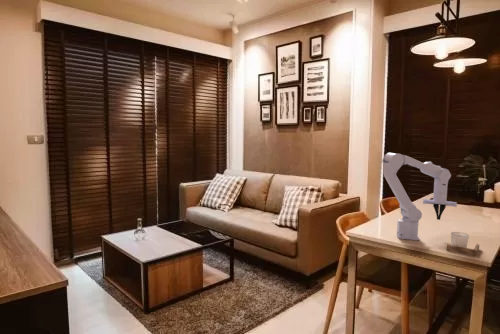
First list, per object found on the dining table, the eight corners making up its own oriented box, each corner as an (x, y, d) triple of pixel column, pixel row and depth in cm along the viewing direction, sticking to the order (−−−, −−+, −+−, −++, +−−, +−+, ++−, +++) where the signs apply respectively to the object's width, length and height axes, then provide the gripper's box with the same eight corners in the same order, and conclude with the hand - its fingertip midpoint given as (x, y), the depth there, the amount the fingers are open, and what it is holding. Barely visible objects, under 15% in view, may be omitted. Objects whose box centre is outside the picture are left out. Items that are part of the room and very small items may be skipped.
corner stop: (493, 256, 143) (494, 250, 143) (459, 257, 142) (459, 251, 142) (477, 248, 152) (478, 243, 152) (445, 249, 151) (445, 244, 151)
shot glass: (463, 252, 147) (464, 237, 147) (447, 248, 153) (448, 233, 152) (470, 249, 151) (471, 234, 150) (454, 245, 157) (455, 230, 156)
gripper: (423, 192, 166) (421, 219, 167) (457, 195, 159) (455, 223, 160) (423, 190, 172) (422, 216, 174) (457, 192, 165) (455, 219, 167)
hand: (438, 219), depth 167 cm, fingers closed
